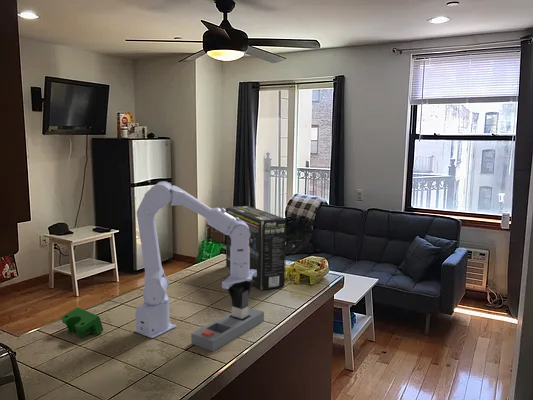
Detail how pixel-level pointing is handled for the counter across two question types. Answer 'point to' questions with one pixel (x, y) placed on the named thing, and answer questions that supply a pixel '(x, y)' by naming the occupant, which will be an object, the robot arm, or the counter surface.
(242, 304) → the plug
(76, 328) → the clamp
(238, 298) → the robot arm
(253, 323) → the power strip
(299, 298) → the counter surface
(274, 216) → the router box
